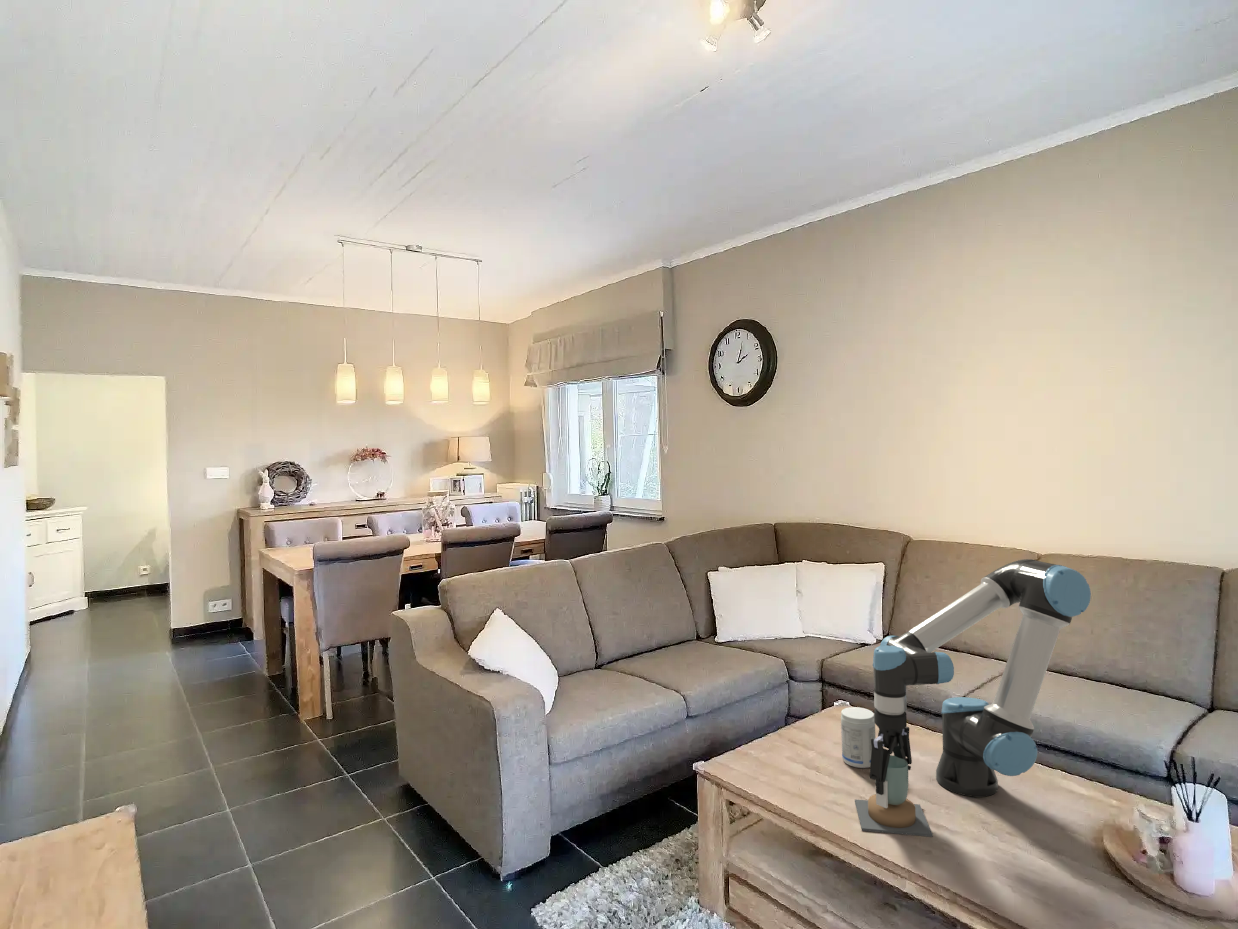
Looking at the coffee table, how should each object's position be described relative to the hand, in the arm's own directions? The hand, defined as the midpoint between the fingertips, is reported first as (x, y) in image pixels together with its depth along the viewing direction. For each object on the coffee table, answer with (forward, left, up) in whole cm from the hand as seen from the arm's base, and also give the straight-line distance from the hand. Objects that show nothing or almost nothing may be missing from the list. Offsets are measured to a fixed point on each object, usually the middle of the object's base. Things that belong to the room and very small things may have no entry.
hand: (891, 799), depth 173 cm
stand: (0, 0, -5) cm, 5 cm away
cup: (0, 0, -1) cm, 1 cm away
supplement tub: (+4, -31, -5) cm, 32 cm away
